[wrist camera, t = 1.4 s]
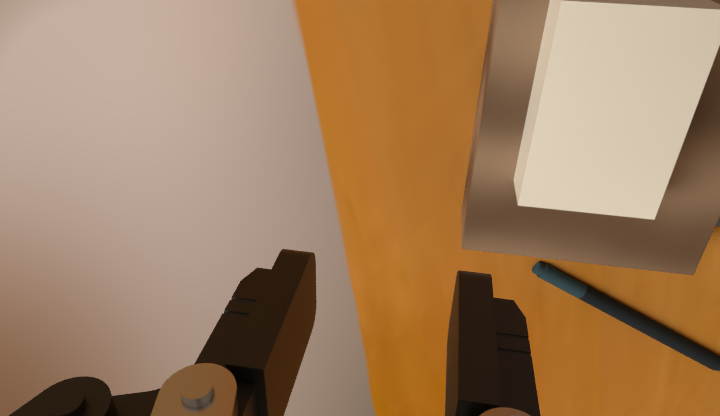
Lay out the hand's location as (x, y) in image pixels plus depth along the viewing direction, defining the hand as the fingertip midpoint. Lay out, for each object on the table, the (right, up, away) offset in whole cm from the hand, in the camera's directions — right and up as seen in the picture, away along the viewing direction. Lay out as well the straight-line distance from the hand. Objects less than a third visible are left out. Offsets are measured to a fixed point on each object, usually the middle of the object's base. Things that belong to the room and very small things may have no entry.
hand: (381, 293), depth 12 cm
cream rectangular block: (+10, +6, +11) cm, 16 cm away
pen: (+18, -5, +23) cm, 29 cm away
